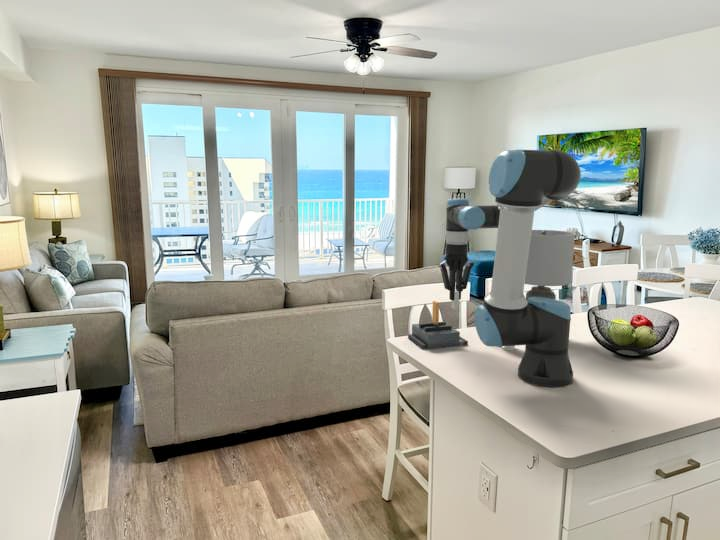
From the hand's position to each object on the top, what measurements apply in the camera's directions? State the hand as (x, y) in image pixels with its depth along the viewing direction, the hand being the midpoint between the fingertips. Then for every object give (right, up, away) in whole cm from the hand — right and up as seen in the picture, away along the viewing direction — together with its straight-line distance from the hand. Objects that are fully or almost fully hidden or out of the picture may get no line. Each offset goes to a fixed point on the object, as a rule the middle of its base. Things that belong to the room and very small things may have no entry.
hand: (454, 308), depth 186 cm
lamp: (+32, -10, +7) cm, 35 cm away
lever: (-7, -5, -1) cm, 9 cm away
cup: (+16, -13, -7) cm, 22 cm away
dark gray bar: (-14, -12, -2) cm, 19 cm away
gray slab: (+1, -11, +2) cm, 12 cm away
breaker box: (-7, -12, 0) cm, 14 cm away
